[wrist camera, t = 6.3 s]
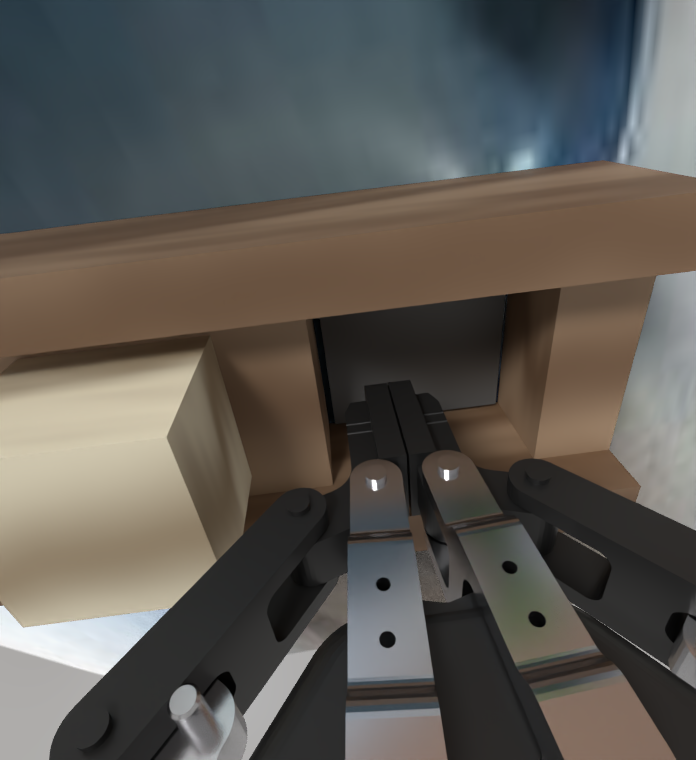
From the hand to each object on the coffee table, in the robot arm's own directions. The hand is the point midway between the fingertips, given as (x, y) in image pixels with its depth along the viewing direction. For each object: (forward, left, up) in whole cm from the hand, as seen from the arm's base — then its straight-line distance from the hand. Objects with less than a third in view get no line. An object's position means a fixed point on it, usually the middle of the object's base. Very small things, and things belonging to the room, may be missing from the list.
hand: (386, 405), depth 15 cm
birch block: (0, -8, -1) cm, 8 cm away
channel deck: (0, -9, -5) cm, 10 cm away
